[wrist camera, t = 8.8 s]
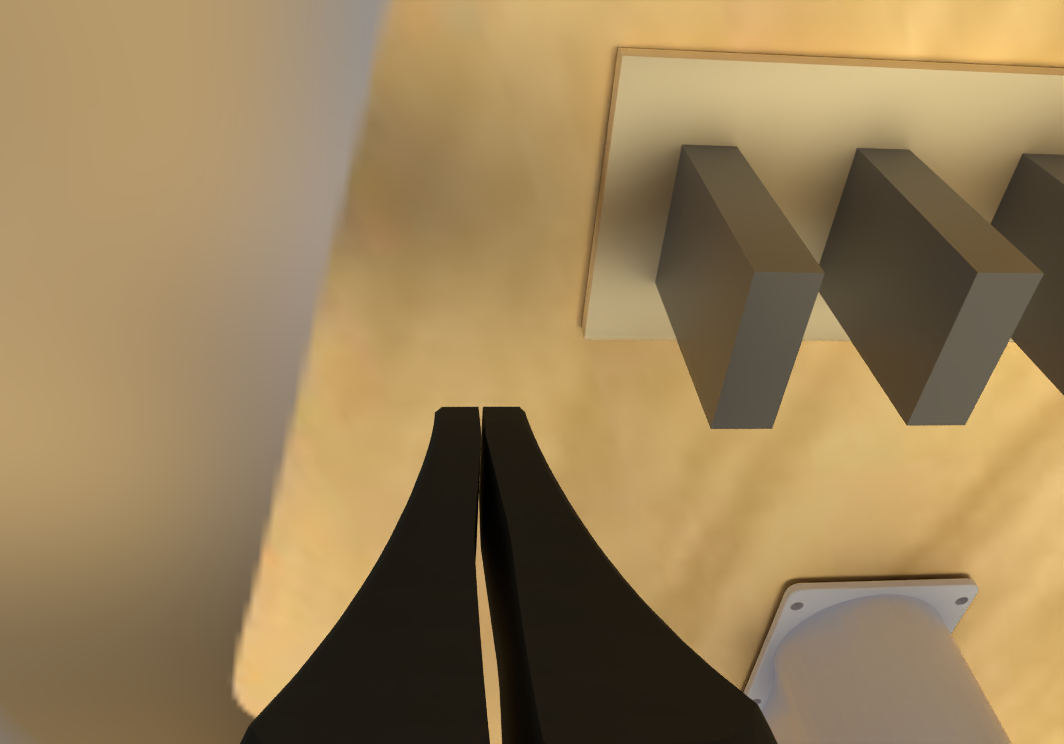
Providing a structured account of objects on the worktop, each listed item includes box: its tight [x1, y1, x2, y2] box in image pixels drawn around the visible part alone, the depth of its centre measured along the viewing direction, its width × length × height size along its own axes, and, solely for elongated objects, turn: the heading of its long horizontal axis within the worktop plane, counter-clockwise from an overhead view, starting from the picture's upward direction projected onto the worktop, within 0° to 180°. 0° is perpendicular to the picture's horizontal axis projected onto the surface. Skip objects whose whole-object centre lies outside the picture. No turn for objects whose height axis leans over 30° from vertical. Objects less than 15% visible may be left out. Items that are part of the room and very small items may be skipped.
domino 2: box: [819, 148, 1044, 425], centre depth 20 cm, size 4×1×6 cm, turn 176°
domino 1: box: [655, 144, 825, 429], centre depth 19 cm, size 4×1×6 cm, turn 175°
